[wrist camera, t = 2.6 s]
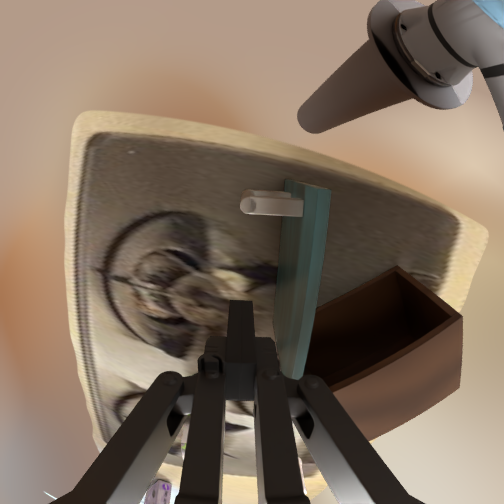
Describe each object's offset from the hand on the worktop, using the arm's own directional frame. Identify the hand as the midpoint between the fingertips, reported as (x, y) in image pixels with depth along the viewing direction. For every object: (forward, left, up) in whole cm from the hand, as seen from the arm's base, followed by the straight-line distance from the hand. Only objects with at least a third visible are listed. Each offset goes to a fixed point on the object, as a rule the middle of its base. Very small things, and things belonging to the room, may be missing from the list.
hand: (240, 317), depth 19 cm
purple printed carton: (+71, +46, -18) cm, 86 cm away
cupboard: (-5, +21, -18) cm, 28 cm away
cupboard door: (-1, +3, -18) cm, 18 cm away
